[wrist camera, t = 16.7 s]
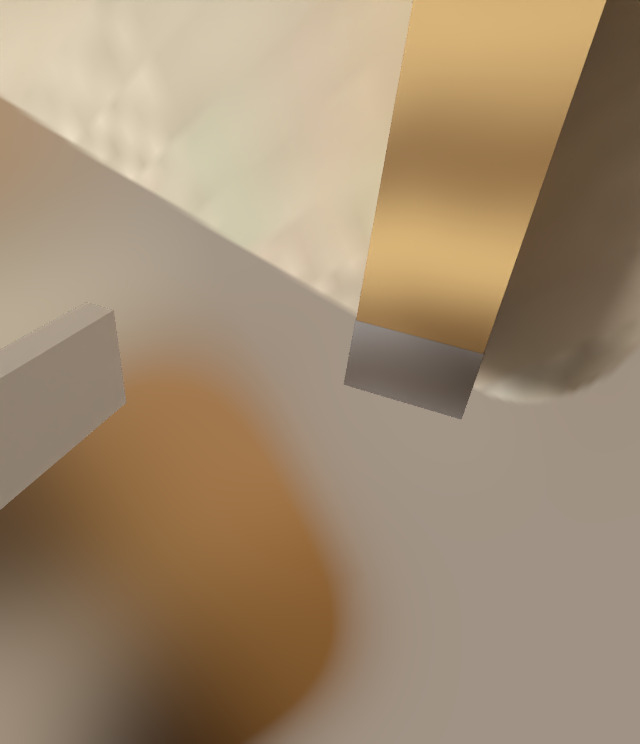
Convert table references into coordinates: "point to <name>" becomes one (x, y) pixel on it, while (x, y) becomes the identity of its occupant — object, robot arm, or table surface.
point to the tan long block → (461, 187)
